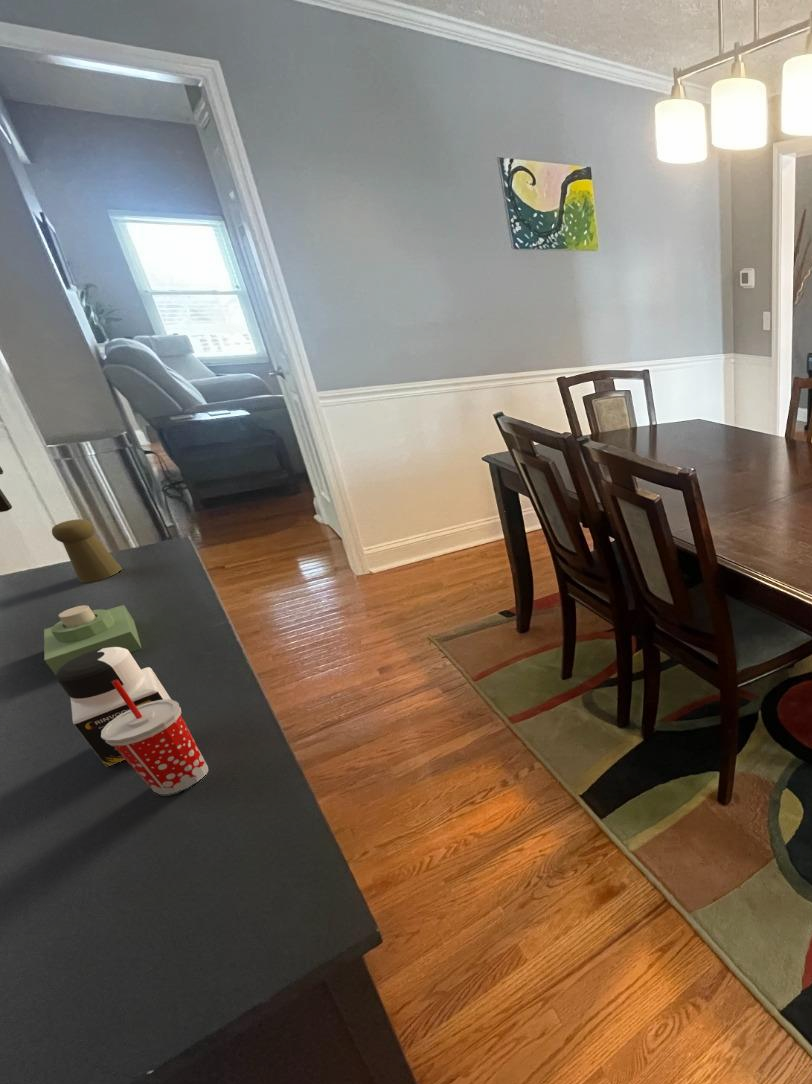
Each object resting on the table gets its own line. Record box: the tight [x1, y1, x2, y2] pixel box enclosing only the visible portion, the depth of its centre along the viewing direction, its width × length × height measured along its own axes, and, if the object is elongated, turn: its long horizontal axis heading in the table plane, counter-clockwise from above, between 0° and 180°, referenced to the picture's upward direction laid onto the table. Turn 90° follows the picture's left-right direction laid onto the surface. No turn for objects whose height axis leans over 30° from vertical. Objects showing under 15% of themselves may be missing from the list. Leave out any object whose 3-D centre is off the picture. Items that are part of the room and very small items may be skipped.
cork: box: [51, 518, 123, 584], centre depth 110 cm, size 6×6×11 cm
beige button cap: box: [58, 604, 96, 628], centre depth 88 cm, size 3×3×2 cm
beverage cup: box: [101, 679, 209, 794], centre depth 63 cm, size 6×6×14 cm
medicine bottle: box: [55, 647, 172, 768], centre depth 70 cm, size 7×7×12 cm
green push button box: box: [43, 604, 143, 676], centre depth 90 cm, size 12×9×5 cm
